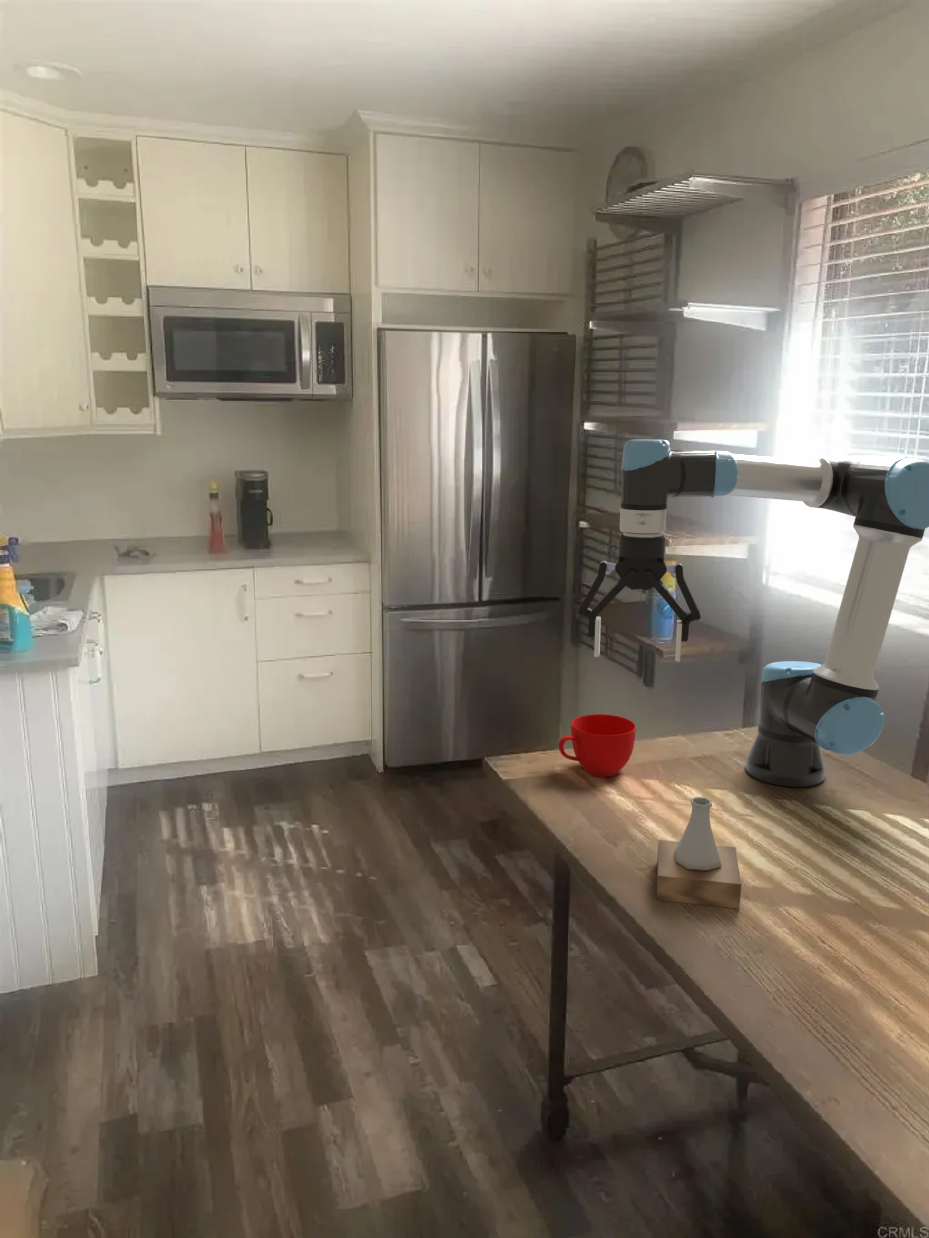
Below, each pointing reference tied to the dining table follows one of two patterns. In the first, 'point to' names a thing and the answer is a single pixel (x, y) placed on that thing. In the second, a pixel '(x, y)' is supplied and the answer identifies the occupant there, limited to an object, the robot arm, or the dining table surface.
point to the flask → (698, 839)
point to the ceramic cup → (601, 743)
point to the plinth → (698, 879)
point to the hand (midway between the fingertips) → (636, 657)
